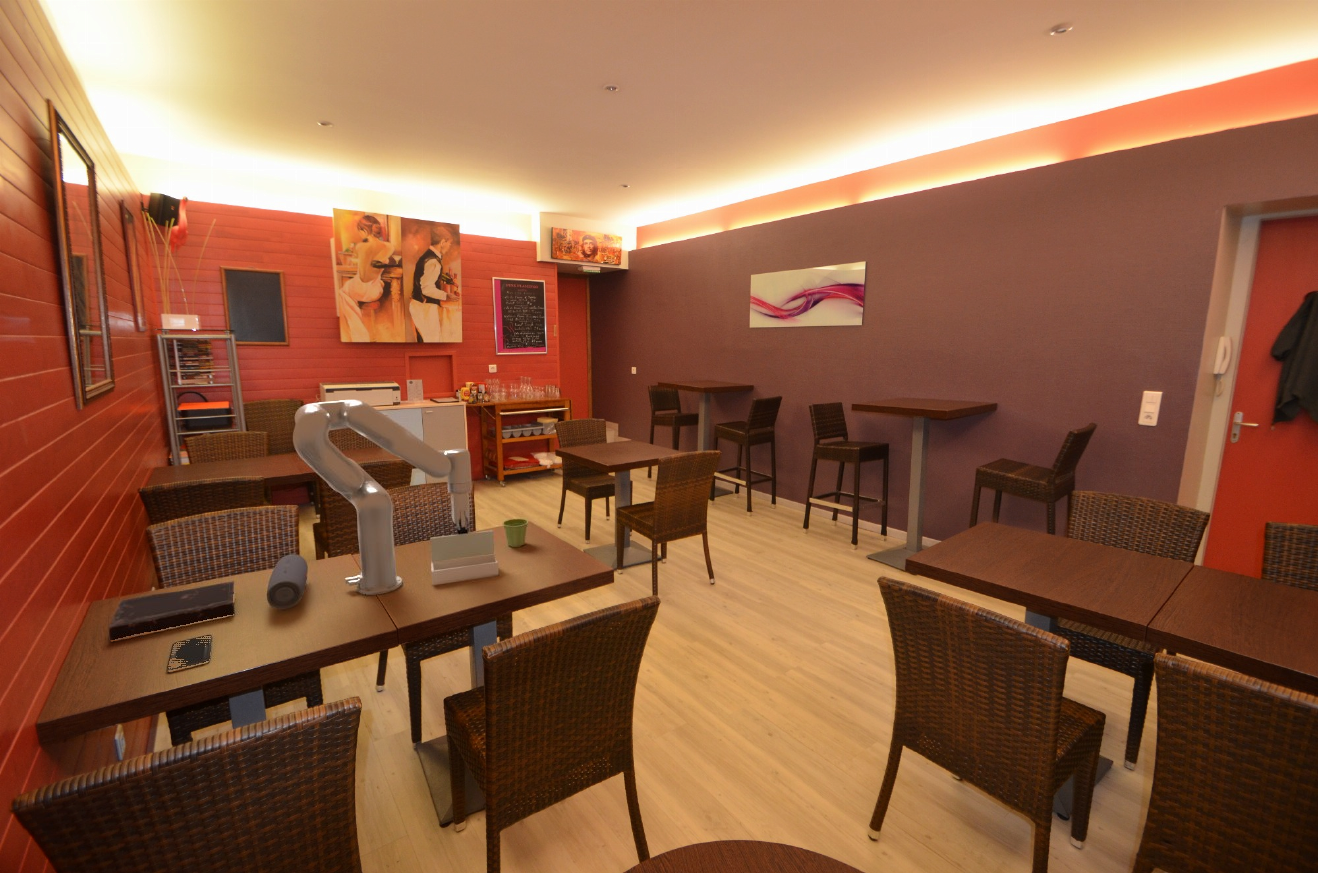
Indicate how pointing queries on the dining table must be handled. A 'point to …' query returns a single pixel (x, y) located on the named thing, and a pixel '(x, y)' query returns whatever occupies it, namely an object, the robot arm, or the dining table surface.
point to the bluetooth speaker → (287, 582)
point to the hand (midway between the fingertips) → (463, 540)
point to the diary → (171, 609)
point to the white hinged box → (464, 569)
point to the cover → (462, 545)
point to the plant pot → (515, 531)
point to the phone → (191, 652)
